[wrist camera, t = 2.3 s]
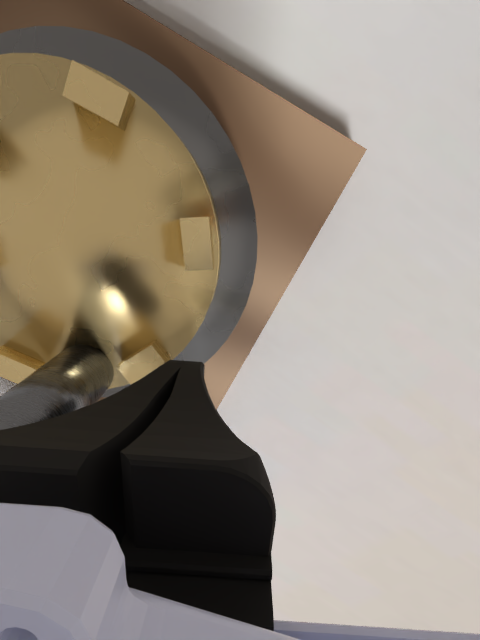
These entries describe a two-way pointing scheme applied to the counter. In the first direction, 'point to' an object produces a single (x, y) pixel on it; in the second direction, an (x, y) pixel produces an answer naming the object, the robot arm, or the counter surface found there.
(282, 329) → the counter surface
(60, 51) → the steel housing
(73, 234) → the ring nut
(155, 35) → the walnut base board
